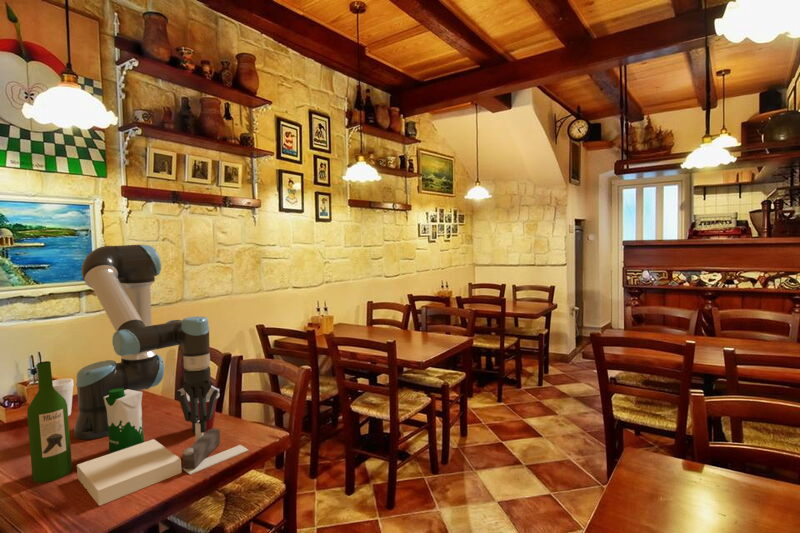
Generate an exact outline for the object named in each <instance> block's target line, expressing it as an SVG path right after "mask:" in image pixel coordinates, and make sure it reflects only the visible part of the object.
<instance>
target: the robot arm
mask: <svg viewBox="0 0 800 533" xmlns="http://www.w3.org/2000/svg"><path fill="white" fill-rule="evenodd" d="M161 270H162V263H161V257H160V255H159V253H158V251H157V250H156V248H154V247H153V246H151V245H150V244H127V245H104V246H100V247H98V248H95V249H94V250H92V251H91V252H90V253H89V254H88V255H86V257H85V259H84V260H83V262H82V266H81V277H82V279H83V281H84V282H85V283H84V284H85V285H86V286H87V287H88V288H90V289H92V290H93V292H94V294H95V295H96V297H97V299H98V301H99V303H100V305H101V307H102V308H103V310H104V311H105V314H106V315H107V317H108V319H109V321H110V323H111V325H112V327H113V328H114V331H115V332H114V333H113V334H112V338H111V339H112V347H113V351H114V353H115V354H116V355H118V356H120V362H116V361H115V360H111V359H110V360H107V359H106V360H101V361H97V362H94V363H90V364H88V365H86V366H84V367H82V368H81V369H79V370H78V372H77V373H76V383H75V386H76V391H77V404H78V415H77V417H76V418H77V419H76V421H75V425H74V428H73V435H74V438H76V439H78V440H94V439H98V438H104V437H107V436H108V437H109V433H108V419H107V410H106V406H105V402H104V398H103V397H105V396H108V395H109V391H110V390H112V389H116V388H124V390H127V389H129V390H135V391H140V392H141V391H143V390H149V389H150V388H153V387H156V386H158V385H159V384H160V383H161V382H162V380H163V378H164V375H165V363H164V359H163V357H162V355H159V354H158V352H157V350H160V349H165V348H172V347H175V346H182V361H183V364H182V365H183V366H182V367H183V368H184V370H183V385H182V388H180V389H178V390H177V391H175V396H176V397H177V398H178V400H179V404H180V408H181V410H182V413H183V417H184V420H185V422H191V424H192V426H191V427H192V430H191V431H192V434H195V442H196V441H197V440H198V439H200V438H201V437H202V436H203V435H204V434H205V433H206V432H207V431H206V421H208V420H210V418H211V417H212V415H213V411H214V406H215V402H216V397H217V394H218V393H220V391H221V389H220V387H215V386H213V383H212V381H211V380H212V379H211V378H212V377H211V375H212V374H211V373H212V372H211V367H210V365H211V355H210V353H211V352H210V326H209V319H208V318H207V316H188V317H185V318H183V319H182V320H181V319H172V320H169V321H167V322H165V323H164V322H163V323H160V324H159V323H158V324H152V298H151V297H152V296H151V294H152V293H151V292H152V291H151V286H152V285H153V284H154V283H155V282H156V281H155V279H156V278H155V277H157V276H159V275H160V274H161ZM209 390H210V391H211V392H210V394H211V397H210V400H209V405H208V409H207V414H206V395H207V393H208V392H209ZM187 395H189V396H190V402H191V409H190V406H189V403H188V399H187ZM198 401H199V417H198ZM199 418H200V420H198V419H199Z"/></svg>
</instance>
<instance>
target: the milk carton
mask: <svg viewBox="0 0 800 533" xmlns="http://www.w3.org/2000/svg"><path fill="white" fill-rule="evenodd" d="M103 398H104V402H105V406H106V410H107V419H108V433H109V435H108V452H109V454H111V453H114V452H117V451H120V450H123V449H126V448H129V447H132V446H135V445H138V444H141V443H144V442H145V435H144V434H145V433H144V427H143V426H144V425H143V411H142V400H143V391H141V390H140V391H135V390H129V389H127V390H124V388H116V389H112V390H110V391H109V395H108V396H105V397H103Z"/></svg>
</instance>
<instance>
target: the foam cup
mask: <svg viewBox="0 0 800 533" xmlns="http://www.w3.org/2000/svg"><path fill="white" fill-rule="evenodd" d="M52 382H53V388H54V389H55V390H56V391H57V392H58V393H59V394H60V395H61V396H62V397H63V398H64V399H65V400H66V403H67V408H68V417H70V416H71V414H72V406H73V393H74V385H75V384H74V379H73V378H59V379H55V380H52Z"/></svg>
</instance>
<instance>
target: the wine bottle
mask: <svg viewBox="0 0 800 533" xmlns="http://www.w3.org/2000/svg"><path fill="white" fill-rule="evenodd" d="M51 363H52V362H51V361H50V360H48V361H47V360H45V361H40V362H37V363H36V366H37V381H38V382H37V383H38V391H37V393H36V394H35V396H34V397H33V399H32V401H31V402H30V404H29V405H28V408H27V412H26V415H27V417H26V418H27V427H28V428H27V429H28V438H29V440H28V442H29V452H30V465H31V476H32V480H33V482H35V483H38V484H42V483H44V484H45V483H47V482H48V483H49V482H53V481H56V480H60V479H61V477H62V478H64V477H66V476H67V475H68V474H70V473H71V472H72V469H73V462H72V450H71V446H72V445H71V437H70V424H69V423H70V422H69V416H68V408H67V403H66V400H65V399H64V398H63V397H62V396H61V395H60V394H59V393H58V392H57V391H56V390H55V389H54V388H53V382H52V381H53V375H52V364H51ZM65 475H66V476H65ZM63 476H64V477H63Z"/></svg>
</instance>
